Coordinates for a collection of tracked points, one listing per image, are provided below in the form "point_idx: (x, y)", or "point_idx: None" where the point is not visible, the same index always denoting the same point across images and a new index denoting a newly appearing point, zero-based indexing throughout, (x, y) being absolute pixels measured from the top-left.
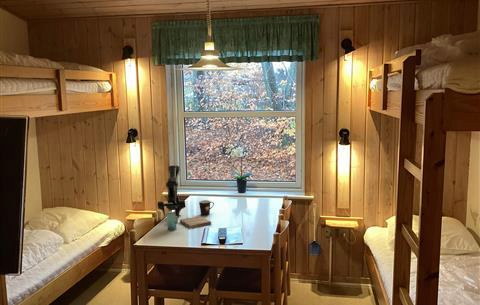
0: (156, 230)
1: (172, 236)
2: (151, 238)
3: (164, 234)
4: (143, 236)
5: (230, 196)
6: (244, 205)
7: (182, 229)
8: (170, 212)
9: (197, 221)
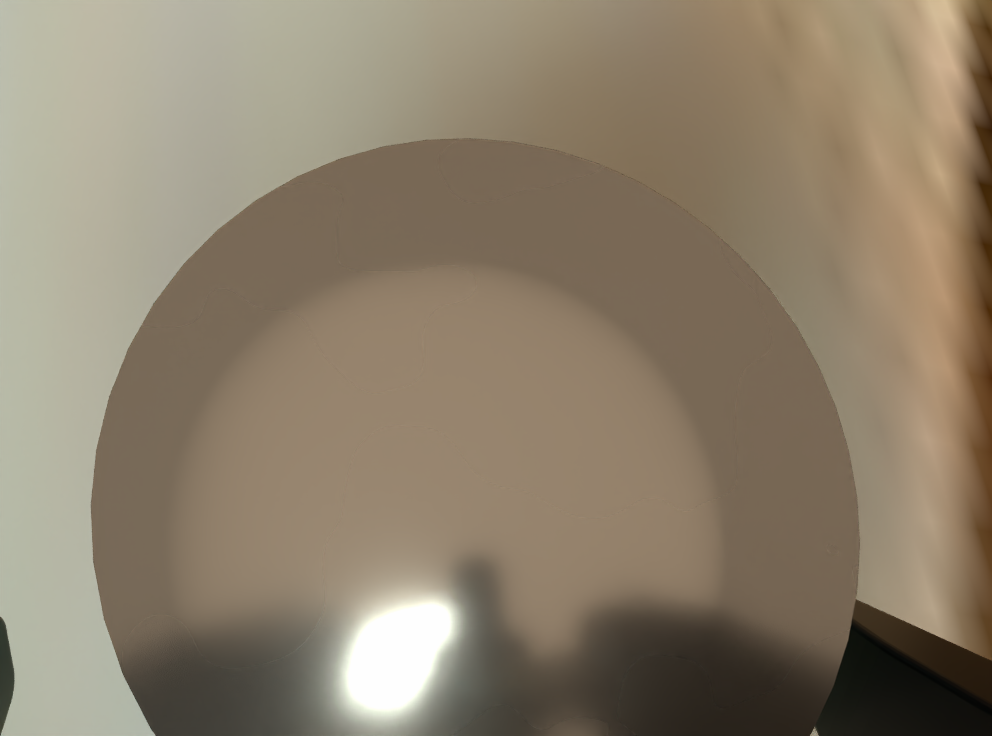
0: None
1: (320, 5)
2: (760, 3)
3: None
4: (957, 162)
5: None
6: None
7: (29, 541)
8: (484, 155)
9: None
